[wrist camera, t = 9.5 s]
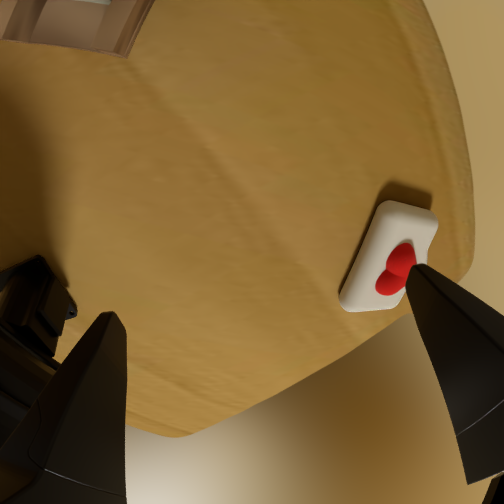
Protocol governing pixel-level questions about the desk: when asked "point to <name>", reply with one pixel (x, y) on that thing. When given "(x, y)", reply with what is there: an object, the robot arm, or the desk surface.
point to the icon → (388, 256)
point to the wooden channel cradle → (75, 23)
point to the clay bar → (98, 1)
